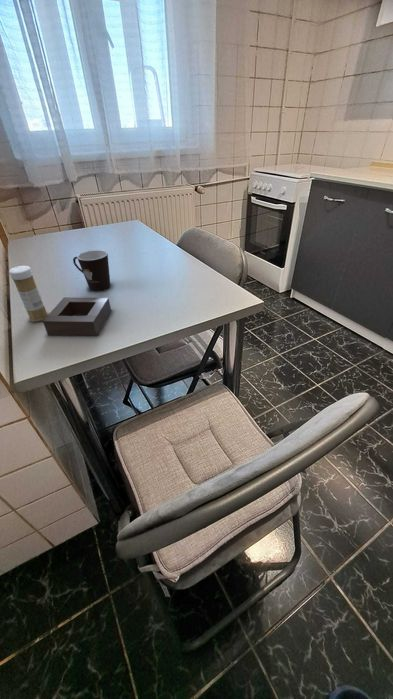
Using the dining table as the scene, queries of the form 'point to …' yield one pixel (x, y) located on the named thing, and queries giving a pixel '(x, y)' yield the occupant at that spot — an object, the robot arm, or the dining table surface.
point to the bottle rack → (77, 317)
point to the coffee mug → (95, 269)
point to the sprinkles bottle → (29, 292)
